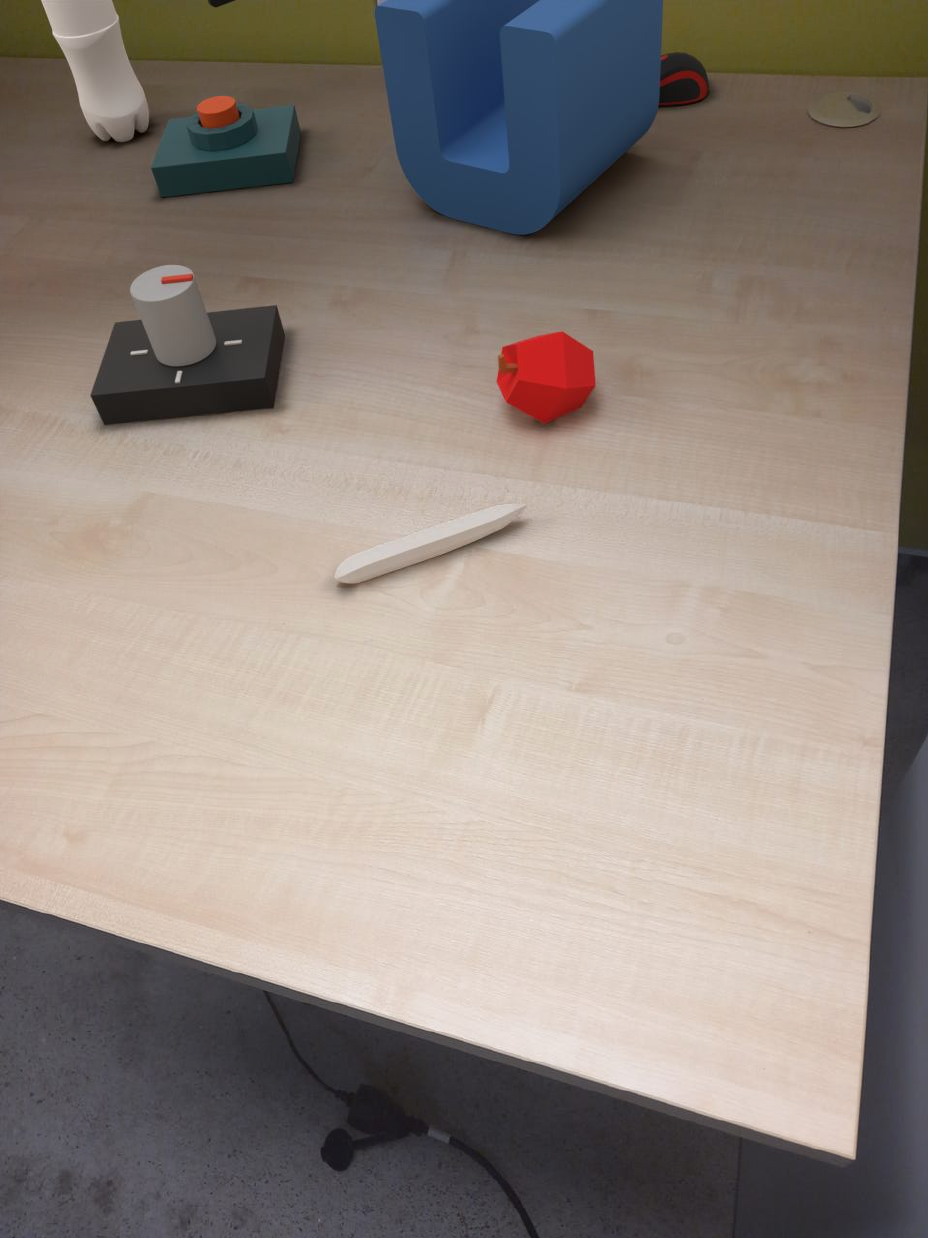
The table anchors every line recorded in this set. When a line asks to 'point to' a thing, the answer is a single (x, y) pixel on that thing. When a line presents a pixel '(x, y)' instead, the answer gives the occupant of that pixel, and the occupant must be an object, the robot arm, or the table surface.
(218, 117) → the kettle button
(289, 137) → the teal button box
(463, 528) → the pen
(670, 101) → the computer mouse
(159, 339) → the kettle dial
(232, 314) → the dial panel
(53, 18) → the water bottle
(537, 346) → the apple
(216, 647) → the table surface
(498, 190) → the block
